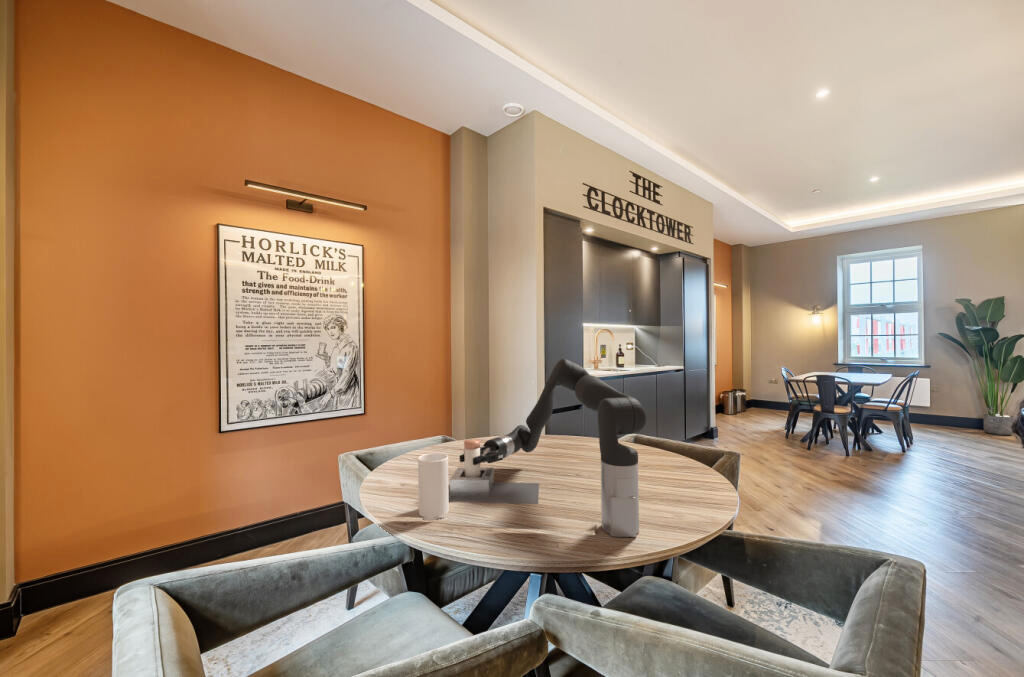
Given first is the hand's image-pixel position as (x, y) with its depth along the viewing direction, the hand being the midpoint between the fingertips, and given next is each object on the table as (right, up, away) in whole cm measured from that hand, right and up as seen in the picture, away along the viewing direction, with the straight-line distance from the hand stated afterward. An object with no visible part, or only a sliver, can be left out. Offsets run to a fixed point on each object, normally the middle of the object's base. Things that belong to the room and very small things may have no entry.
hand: (467, 460), depth 127 cm
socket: (+2, -10, +2) cm, 10 cm away
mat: (+8, -11, 0) cm, 14 cm away
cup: (-8, -11, -14) cm, 20 cm away
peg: (+2, -8, +2) cm, 9 cm away
